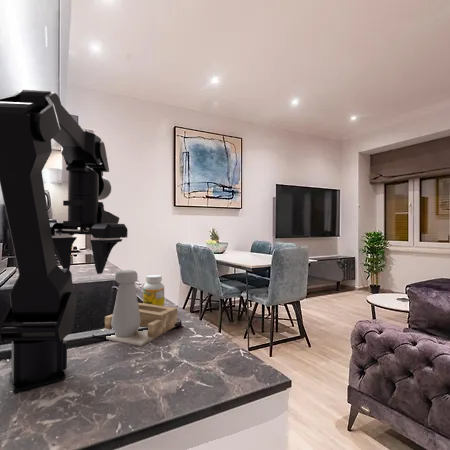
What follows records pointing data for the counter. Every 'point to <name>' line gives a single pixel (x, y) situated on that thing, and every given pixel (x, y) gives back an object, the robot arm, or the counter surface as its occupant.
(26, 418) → the counter surface
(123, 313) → the salt shaker
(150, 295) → the supplement bottle
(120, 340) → the dock
